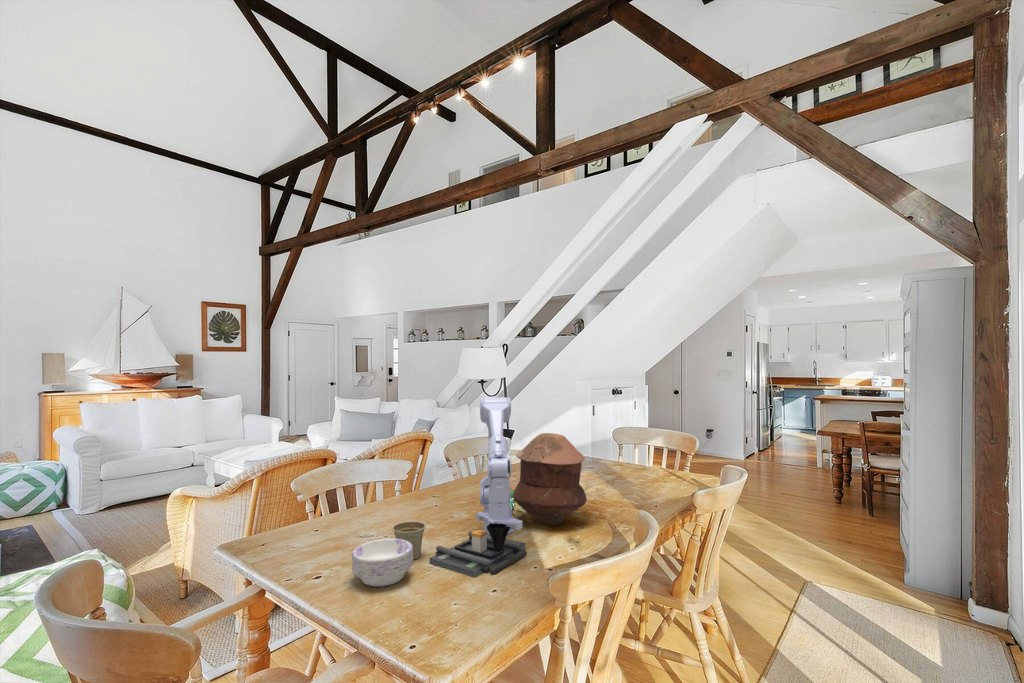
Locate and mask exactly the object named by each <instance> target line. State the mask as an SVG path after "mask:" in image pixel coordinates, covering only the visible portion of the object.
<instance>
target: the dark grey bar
mask: <svg viewBox="0 0 1024 683" xmlns="http://www.w3.org/2000/svg"><path fill="white" fill-rule="evenodd" d="M472 532H473V531H469V532H468V534H467V535H468V537H469V538H468V540H469V539H471V538H472V536H471V533H472ZM487 541H488V542H492V543H493V541H492V538H491V536H488V535H487ZM504 546H508V547H512V548H515V549H516V554H517V553H518V552H520V551H521V544H520V543H516V542H512V541H508V540H505V543H504Z"/></svg>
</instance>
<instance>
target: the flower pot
mask: <svg viewBox="0 0 1024 683" xmlns="http://www.w3.org/2000/svg"><path fill="white" fill-rule="evenodd" d="M426 527H427V526H426V523H424V522H422V521H414V520H413V521H403V522H399V523H396V524H395V525H393V526H392V528H391V529H392V531H393V534H394V539H402V540H406V541H408V542H410V543H411V544H412V547H413V560H415V559H416V560H418V559H419V558H420V557H421V552H422V543H423V536H424V533H425V529H426Z"/></svg>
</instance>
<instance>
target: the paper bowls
mask: <svg viewBox="0 0 1024 683" xmlns="http://www.w3.org/2000/svg"><path fill="white" fill-rule="evenodd" d="M413 564H414V559H413V547H412V544H411V543H410V542H408V541H406V540H402V539H396V538H380V539H375V540H374V539H373V540H371V541H367V542H364V543H362V544H360V545H357V546H356V547H355V548H354V549H353V550H352V552H351V568H352V569H351V572H352V573H353V575H354V576H356V577H357V578H360V580H361V581H362V582H363V584H365V585H367V586H370V587H385V586H391V585H394V584H396V583H398V582H399V581H401V580H402V578H403V577H404V576H405V573H406V572H408V571H409V570H410V569H411V568H412V567H413Z"/></svg>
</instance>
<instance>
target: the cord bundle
mask: <svg viewBox="0 0 1024 683" xmlns="http://www.w3.org/2000/svg"><path fill="white" fill-rule="evenodd" d="M435 550H436V552H435V554H434V555H437V554H439V553H441V554H448V555H451V556H452V557H455V558H458V559H462V560H465V561H468V562H475V563H479V565H482V566H484V573H490V574H491V575H494V574H496V573H498V572H500V571H502V570H503V569H505V568H506V567H509V566H510V565H512V564H513V563H515V562H517V561H518V560H520V559H521V558H523V557H525V556H526V555H527V551H526V550H525V549H524V550H522V551H520V552H518V553H517V554H515V555H513V556H511V557H509V558H508V559H506V560H504V561H502V562H501V563H499V564H497V565H495V566H494V567H492V568H491V569H490V564H491V561H490V560H488V559H485V558H481V557H478V556H474V555H471V554H467V553H463V552H460V551H456V550H453V549H449V547H445V546H441V545H437V546H436V547H435Z"/></svg>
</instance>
